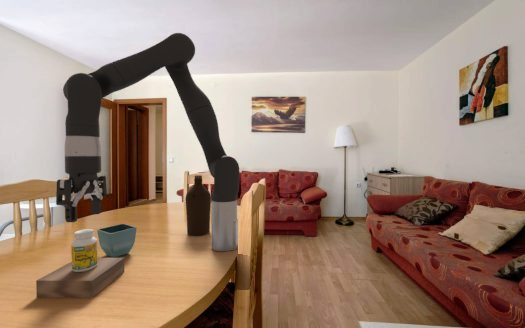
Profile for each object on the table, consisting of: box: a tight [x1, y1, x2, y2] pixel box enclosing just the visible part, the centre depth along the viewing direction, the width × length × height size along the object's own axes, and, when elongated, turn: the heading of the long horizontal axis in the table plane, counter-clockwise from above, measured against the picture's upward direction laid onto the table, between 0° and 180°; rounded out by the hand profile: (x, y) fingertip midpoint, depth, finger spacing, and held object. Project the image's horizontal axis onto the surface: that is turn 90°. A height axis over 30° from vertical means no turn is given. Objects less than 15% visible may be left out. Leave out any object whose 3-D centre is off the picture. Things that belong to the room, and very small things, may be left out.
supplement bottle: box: [70, 228, 98, 272], centre depth 63 cm, size 5×5×10 cm
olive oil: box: [185, 174, 212, 237], centre depth 105 cm, size 11×11×25 cm
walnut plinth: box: [35, 257, 125, 299], centre depth 63 cm, size 13×13×4 cm
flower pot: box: [96, 223, 137, 258], centre depth 82 cm, size 9×9×9 cm
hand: (84, 217), depth 63 cm, fingers open, 8 cm apart
